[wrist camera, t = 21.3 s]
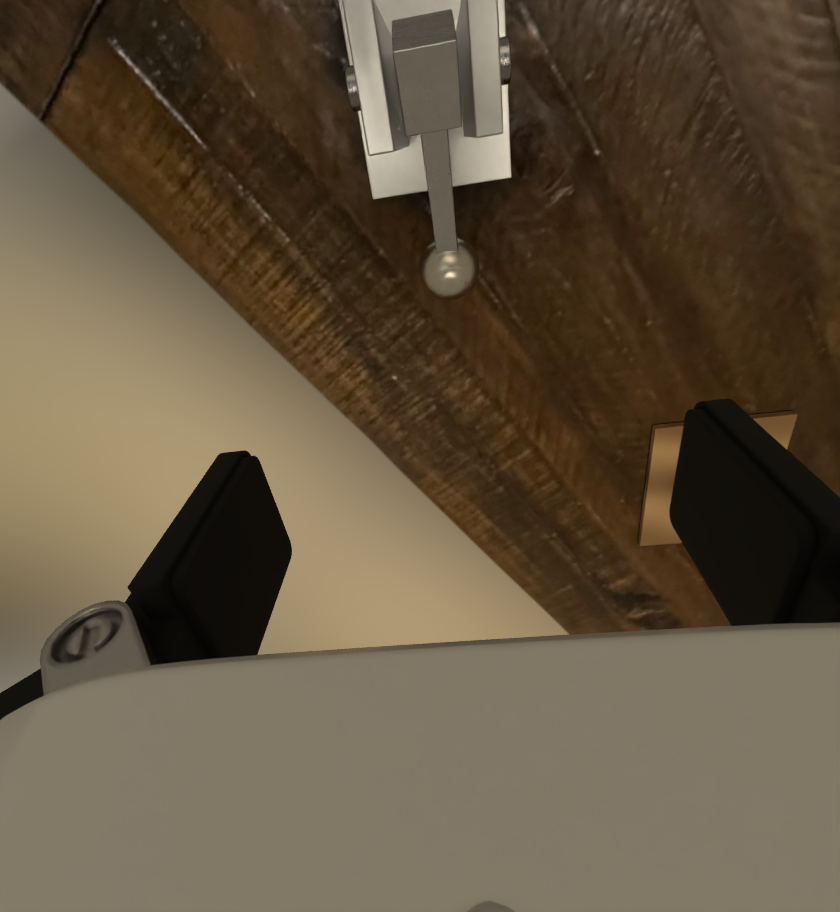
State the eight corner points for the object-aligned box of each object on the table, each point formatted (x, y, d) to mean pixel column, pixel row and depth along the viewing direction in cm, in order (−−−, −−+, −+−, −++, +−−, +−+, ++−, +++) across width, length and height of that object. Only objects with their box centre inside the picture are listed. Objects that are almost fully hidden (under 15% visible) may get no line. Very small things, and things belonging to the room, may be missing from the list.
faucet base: (509, 176, 29) (546, 197, 19) (374, 197, 30) (342, 229, 20) (500, -34, 24) (545, -154, 14) (340, -2, 25) (275, -93, 15)
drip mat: (652, 424, 37) (655, 428, 37) (793, 410, 36) (798, 414, 36) (637, 541, 44) (639, 546, 43) (756, 532, 43) (760, 536, 42)
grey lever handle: (477, 267, 28) (483, 308, 27) (422, 275, 29) (424, 316, 27) (464, 0, 18) (473, 42, 16) (377, 17, 18) (377, 60, 17)
